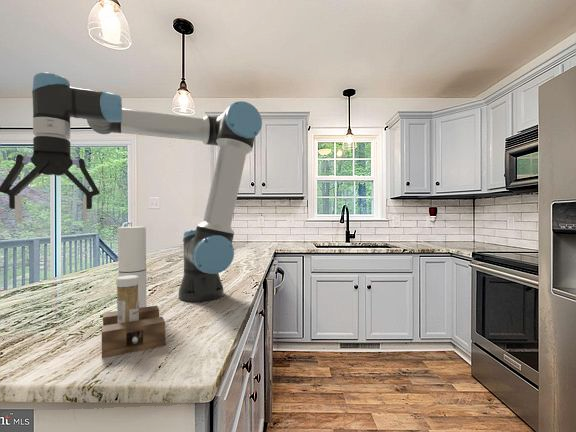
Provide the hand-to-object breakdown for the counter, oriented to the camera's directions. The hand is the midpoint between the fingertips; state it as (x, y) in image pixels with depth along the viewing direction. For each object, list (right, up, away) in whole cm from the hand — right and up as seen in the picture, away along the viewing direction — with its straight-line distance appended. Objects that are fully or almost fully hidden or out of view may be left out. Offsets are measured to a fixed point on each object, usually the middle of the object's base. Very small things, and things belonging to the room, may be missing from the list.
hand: (53, 222), depth 79 cm
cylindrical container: (+15, -27, +11) cm, 32 cm away
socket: (+24, -27, -7) cm, 36 cm away
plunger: (+26, -25, -12) cm, 39 cm away
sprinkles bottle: (+23, -26, -8) cm, 36 cm away
